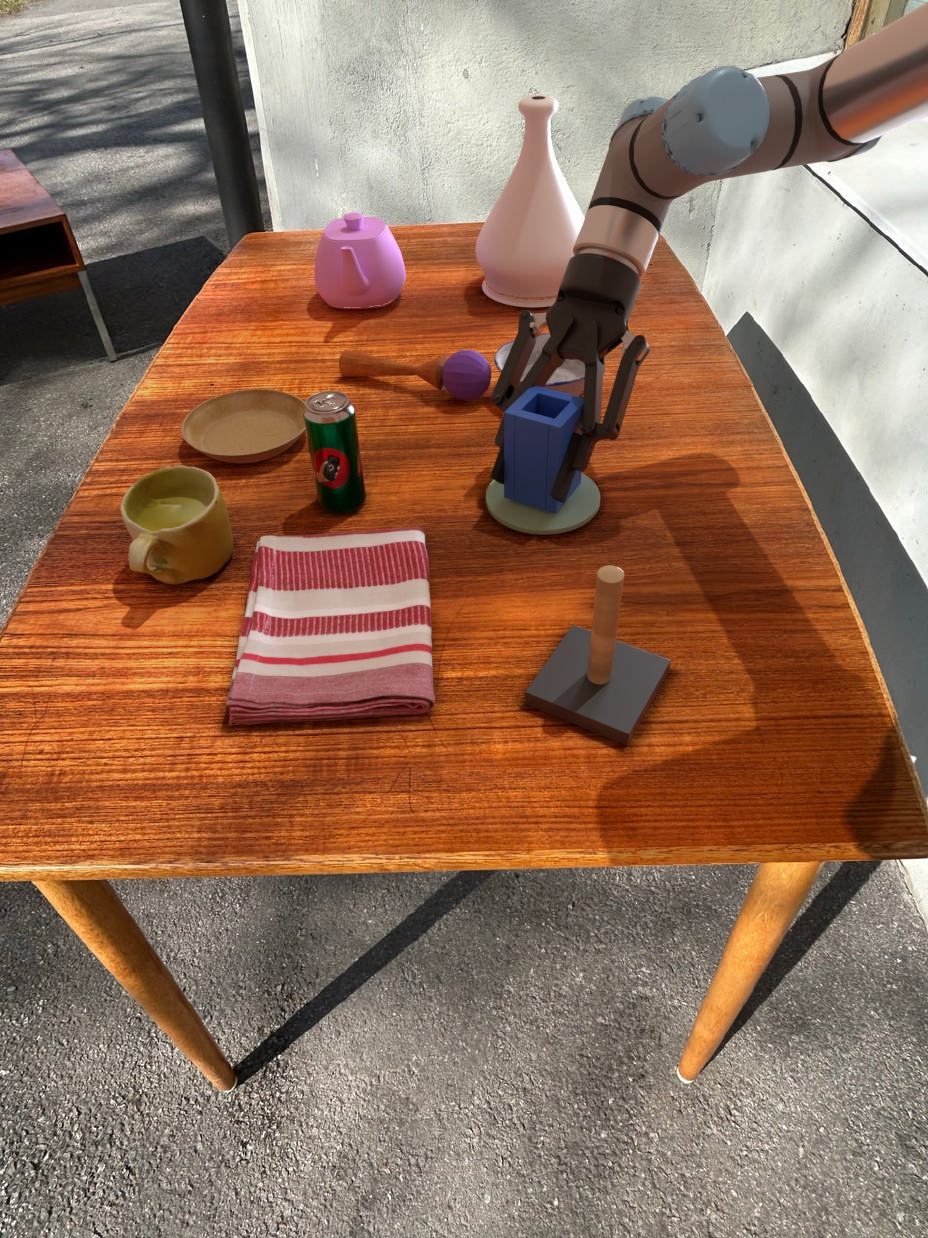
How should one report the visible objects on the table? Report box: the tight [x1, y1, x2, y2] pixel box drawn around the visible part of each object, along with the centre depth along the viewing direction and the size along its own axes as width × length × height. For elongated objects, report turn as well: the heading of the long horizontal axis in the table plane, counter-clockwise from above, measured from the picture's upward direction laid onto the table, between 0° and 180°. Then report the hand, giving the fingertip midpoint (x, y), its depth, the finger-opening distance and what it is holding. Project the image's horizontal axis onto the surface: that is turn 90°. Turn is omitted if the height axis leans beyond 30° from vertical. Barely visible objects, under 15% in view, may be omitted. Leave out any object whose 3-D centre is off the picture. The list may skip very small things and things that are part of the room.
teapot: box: [313, 211, 407, 310], centre depth 125 cm, size 20×13×12 cm, turn 0°
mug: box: [119, 464, 235, 585], centre depth 83 cm, size 12×10×10 cm
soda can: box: [303, 390, 367, 515], centre depth 88 cm, size 5×5×12 cm
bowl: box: [493, 333, 585, 397], centre depth 106 cm, size 13×13×5 cm
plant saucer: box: [180, 388, 306, 465], centre depth 101 cm, size 15×15×3 cm
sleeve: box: [504, 385, 584, 513], centre depth 87 cm, size 6×6×10 cm
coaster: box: [485, 472, 601, 536], centre depth 91 cm, size 12×12×1 cm
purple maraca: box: [338, 349, 492, 402], centre depth 108 cm, size 6×6×20 cm
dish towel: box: [224, 526, 436, 726], centre depth 78 cm, size 17×23×3 cm
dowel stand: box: [524, 564, 672, 747], centre depth 68 cm, size 9×9×12 cm
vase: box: [474, 94, 585, 308], centre depth 123 cm, size 17×17×25 cm
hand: (527, 489), depth 87 cm, fingers closed on sleeve, 6 cm apart
